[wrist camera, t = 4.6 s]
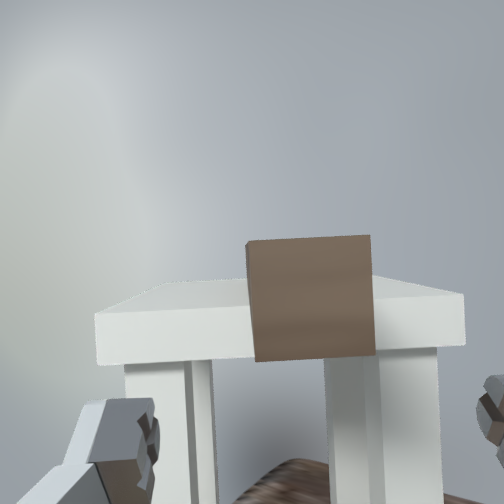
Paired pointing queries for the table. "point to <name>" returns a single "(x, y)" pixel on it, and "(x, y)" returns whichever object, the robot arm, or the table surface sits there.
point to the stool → (336, 386)
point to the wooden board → (311, 298)
